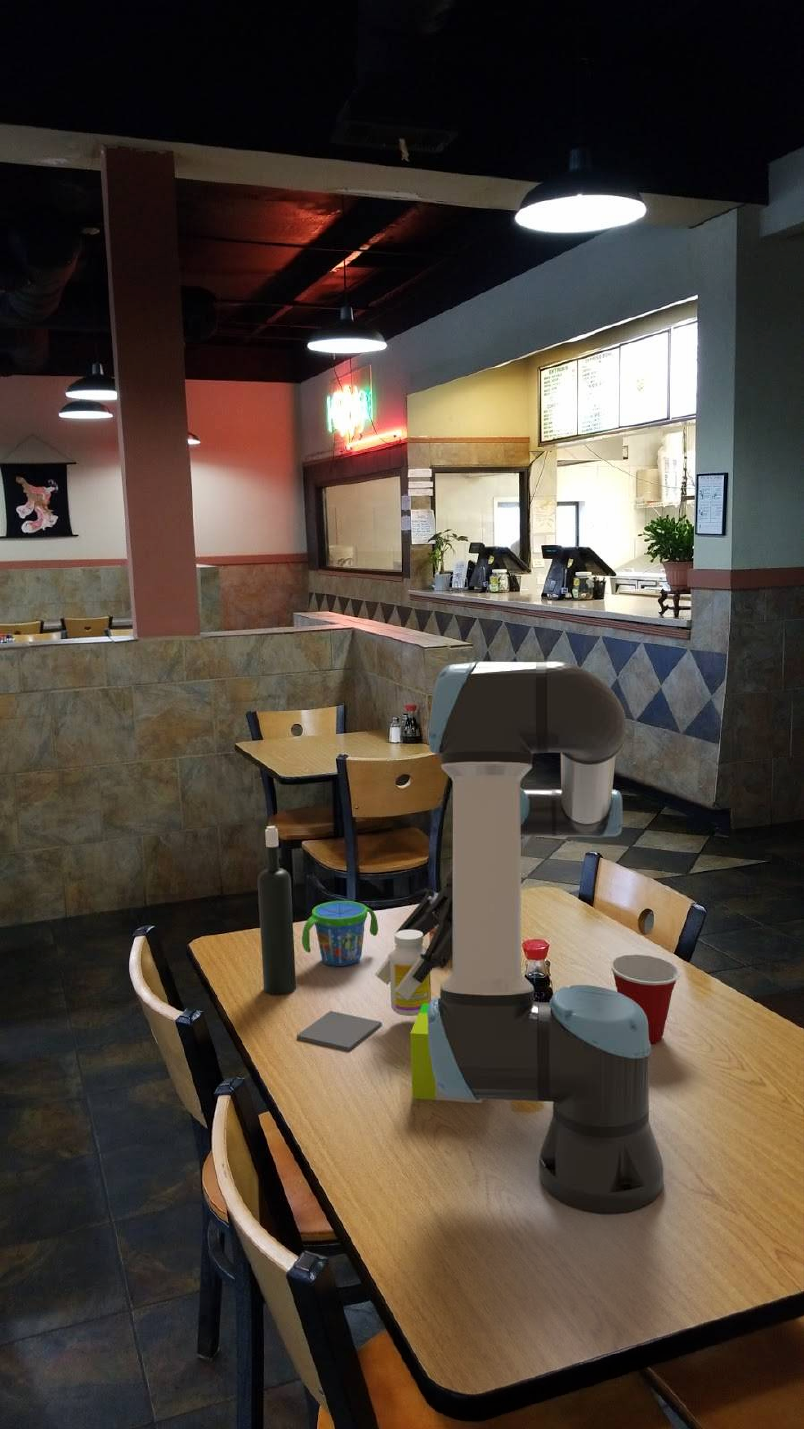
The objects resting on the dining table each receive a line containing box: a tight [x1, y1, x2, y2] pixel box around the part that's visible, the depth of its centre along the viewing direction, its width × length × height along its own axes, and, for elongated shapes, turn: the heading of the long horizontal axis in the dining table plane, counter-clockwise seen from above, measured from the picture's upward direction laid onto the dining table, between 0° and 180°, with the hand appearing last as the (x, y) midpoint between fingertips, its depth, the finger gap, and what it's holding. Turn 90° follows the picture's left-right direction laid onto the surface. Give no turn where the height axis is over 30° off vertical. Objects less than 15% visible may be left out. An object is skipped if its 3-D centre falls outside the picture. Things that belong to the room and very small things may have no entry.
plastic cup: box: [609, 953, 682, 1046], centre depth 169 cm, size 11×11×12 cm
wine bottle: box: [257, 825, 297, 996], centre depth 191 cm, size 6×6×30 cm
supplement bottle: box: [388, 930, 432, 1017], centre depth 177 cm, size 7×7×13 cm
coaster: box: [296, 1010, 383, 1052], centre depth 176 cm, size 10×10×1 cm
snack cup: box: [301, 900, 379, 967], centre depth 205 cm, size 16×10×10 cm
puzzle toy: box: [409, 1003, 484, 1104], centre depth 157 cm, size 10×10×10 cm
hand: (391, 987), depth 175 cm, fingers closed on supplement bottle, 7 cm apart
